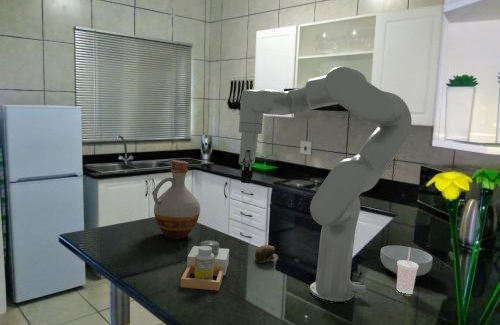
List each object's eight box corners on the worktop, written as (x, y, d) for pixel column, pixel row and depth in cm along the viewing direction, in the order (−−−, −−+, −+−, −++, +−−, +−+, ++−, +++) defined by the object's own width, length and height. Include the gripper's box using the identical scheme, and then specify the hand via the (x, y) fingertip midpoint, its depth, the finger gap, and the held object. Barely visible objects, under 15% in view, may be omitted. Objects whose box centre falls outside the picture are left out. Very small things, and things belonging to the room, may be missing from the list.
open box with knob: (228, 263, 136) (229, 240, 135) (220, 290, 115) (222, 263, 114) (192, 260, 137) (194, 237, 136) (178, 286, 116) (180, 259, 115)
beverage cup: (412, 289, 126) (418, 245, 125) (417, 297, 120) (423, 252, 119) (392, 286, 127) (397, 243, 126) (395, 294, 121) (401, 249, 120)
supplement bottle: (200, 275, 125) (202, 243, 123) (216, 279, 122) (218, 247, 121) (190, 282, 120) (192, 248, 118) (206, 286, 117) (208, 252, 116)
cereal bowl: (378, 260, 150) (381, 242, 149) (427, 268, 145) (429, 249, 144) (378, 277, 134) (381, 256, 133) (433, 287, 129) (436, 266, 128)
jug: (163, 247, 147) (167, 165, 143) (140, 233, 160) (143, 158, 156) (207, 238, 160) (212, 163, 156) (182, 227, 173) (186, 157, 169)
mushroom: (283, 252, 142) (274, 238, 140) (275, 267, 135) (265, 252, 134) (266, 257, 146) (257, 243, 145) (257, 271, 140) (247, 257, 139)
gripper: (241, 126, 141) (237, 175, 143) (236, 128, 124) (232, 184, 126) (262, 128, 141) (258, 177, 143) (261, 130, 123) (257, 186, 126)
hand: (246, 180), depth 134 cm, fingers open, 9 cm apart
